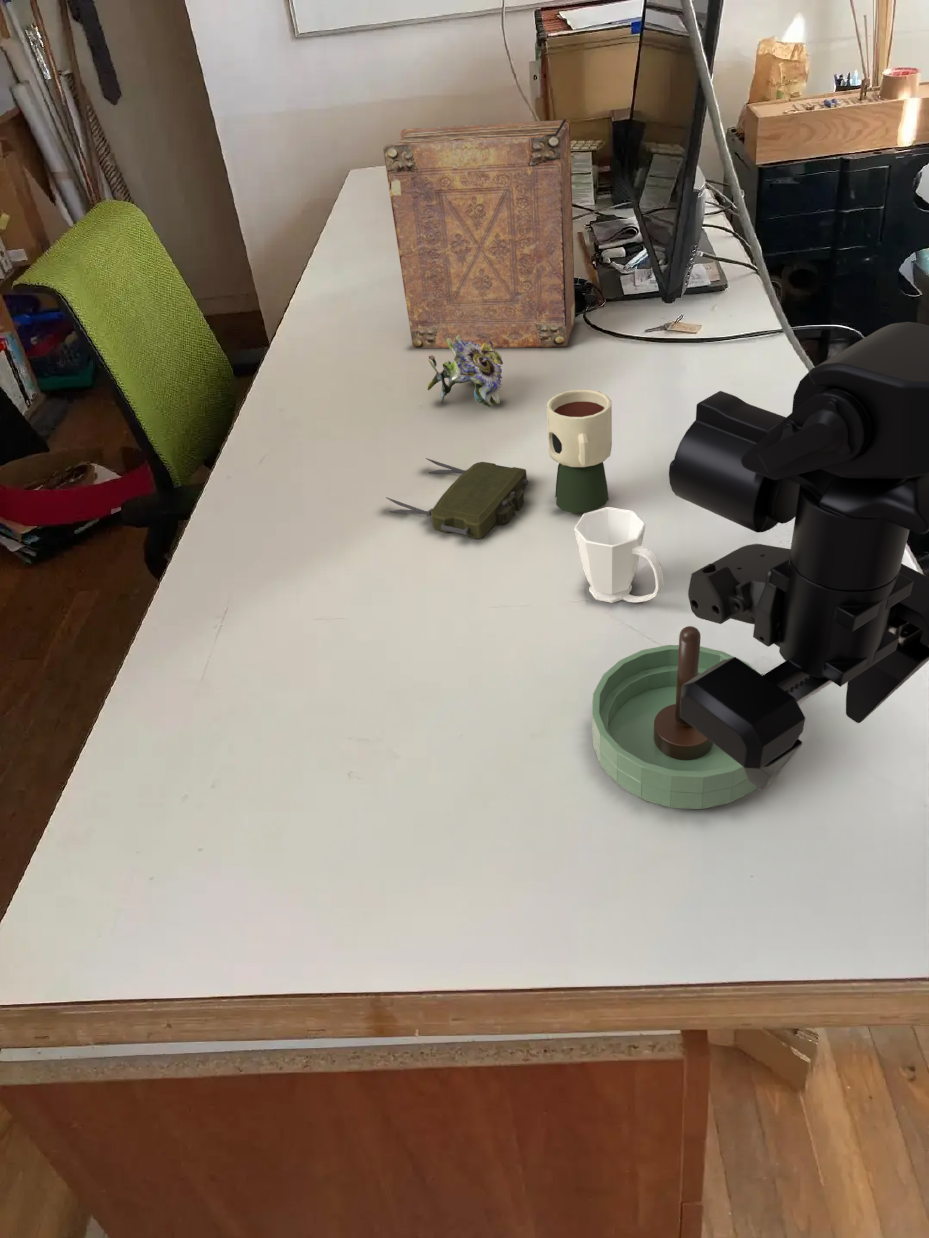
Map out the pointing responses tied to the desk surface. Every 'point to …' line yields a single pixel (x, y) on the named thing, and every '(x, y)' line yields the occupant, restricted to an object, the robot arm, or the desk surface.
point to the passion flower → (471, 370)
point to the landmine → (476, 499)
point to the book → (485, 232)
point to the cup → (614, 553)
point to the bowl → (629, 735)
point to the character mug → (580, 447)
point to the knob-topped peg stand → (668, 725)
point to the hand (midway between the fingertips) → (807, 750)
